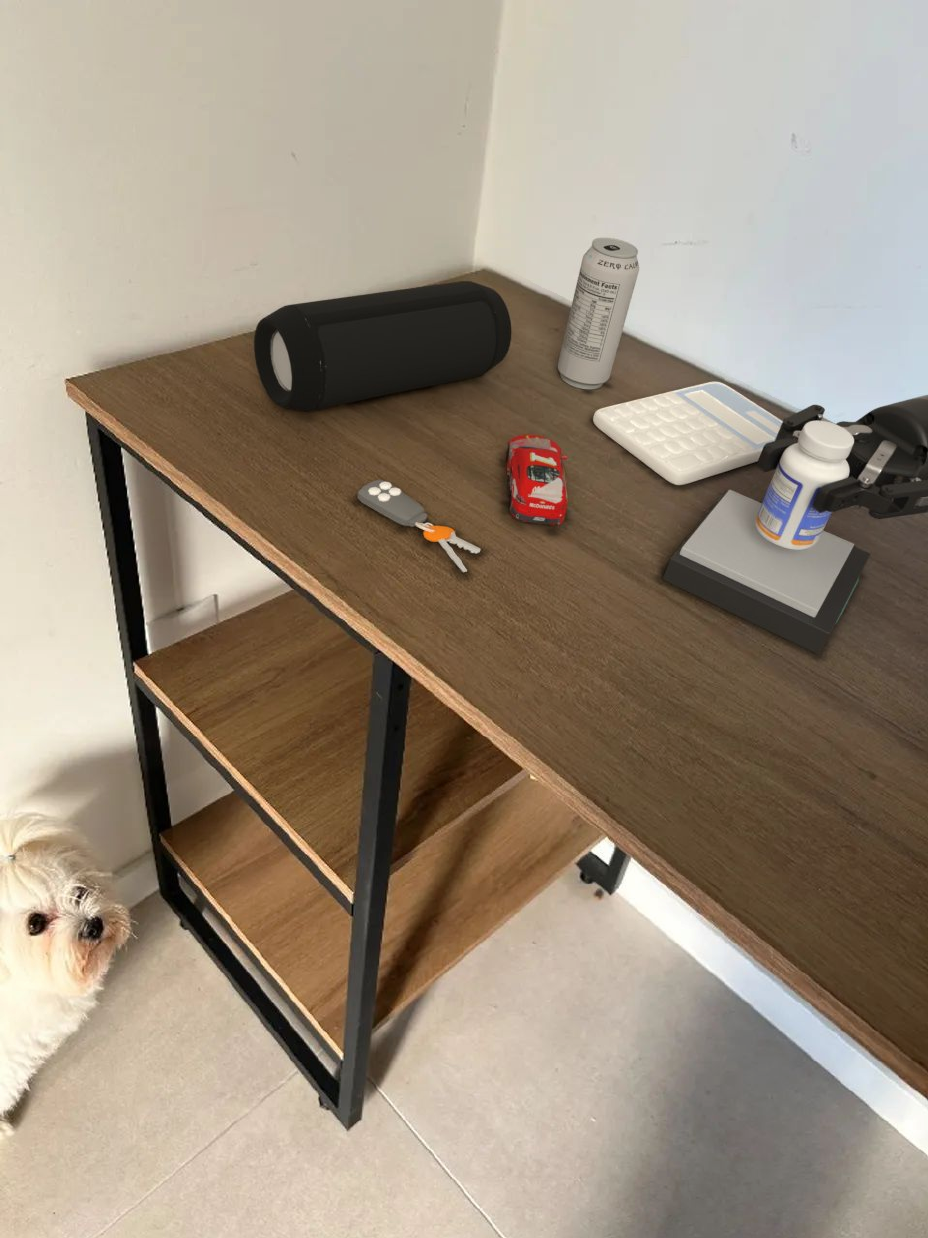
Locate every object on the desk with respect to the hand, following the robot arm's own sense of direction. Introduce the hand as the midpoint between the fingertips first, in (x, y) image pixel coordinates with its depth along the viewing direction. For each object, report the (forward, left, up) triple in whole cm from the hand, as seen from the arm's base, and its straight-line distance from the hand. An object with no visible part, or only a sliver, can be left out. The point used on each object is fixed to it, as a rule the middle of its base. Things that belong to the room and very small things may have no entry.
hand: (791, 479), depth 74 cm
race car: (+21, +1, -11) cm, 24 cm away
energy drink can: (+28, -23, -11) cm, 38 cm away
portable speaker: (+42, -4, -11) cm, 44 cm away
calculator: (+13, -21, -11) cm, 27 cm away
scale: (-1, -2, -11) cm, 11 cm away
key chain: (+25, +13, -11) cm, 31 cm away
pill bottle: (-1, -2, -6) cm, 7 cm away
